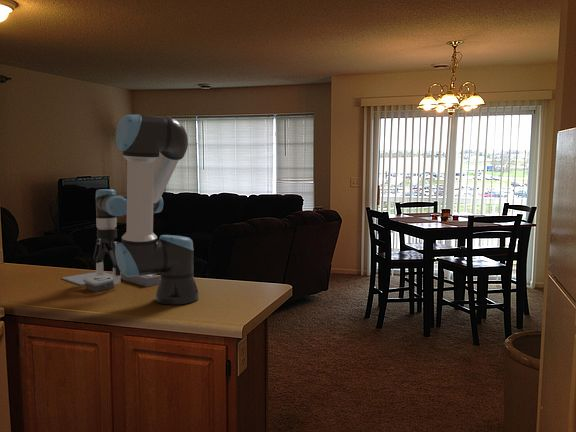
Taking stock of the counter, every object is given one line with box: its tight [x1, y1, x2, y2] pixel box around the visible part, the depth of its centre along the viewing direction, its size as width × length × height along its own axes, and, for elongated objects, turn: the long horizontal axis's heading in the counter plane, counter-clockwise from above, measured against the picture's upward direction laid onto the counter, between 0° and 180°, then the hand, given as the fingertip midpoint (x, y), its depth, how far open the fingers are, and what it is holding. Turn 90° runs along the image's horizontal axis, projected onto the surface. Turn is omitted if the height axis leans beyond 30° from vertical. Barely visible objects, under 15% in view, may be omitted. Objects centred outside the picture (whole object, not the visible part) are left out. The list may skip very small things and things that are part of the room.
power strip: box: [120, 272, 161, 288], centre depth 210 cm, size 20×6×4 cm, turn 47°
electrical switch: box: [83, 275, 115, 293], centre depth 198 cm, size 9×5×9 cm
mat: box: [61, 271, 113, 287], centre depth 216 cm, size 18×18×1 cm
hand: (108, 280), depth 202 cm, fingers open, 13 cm apart
